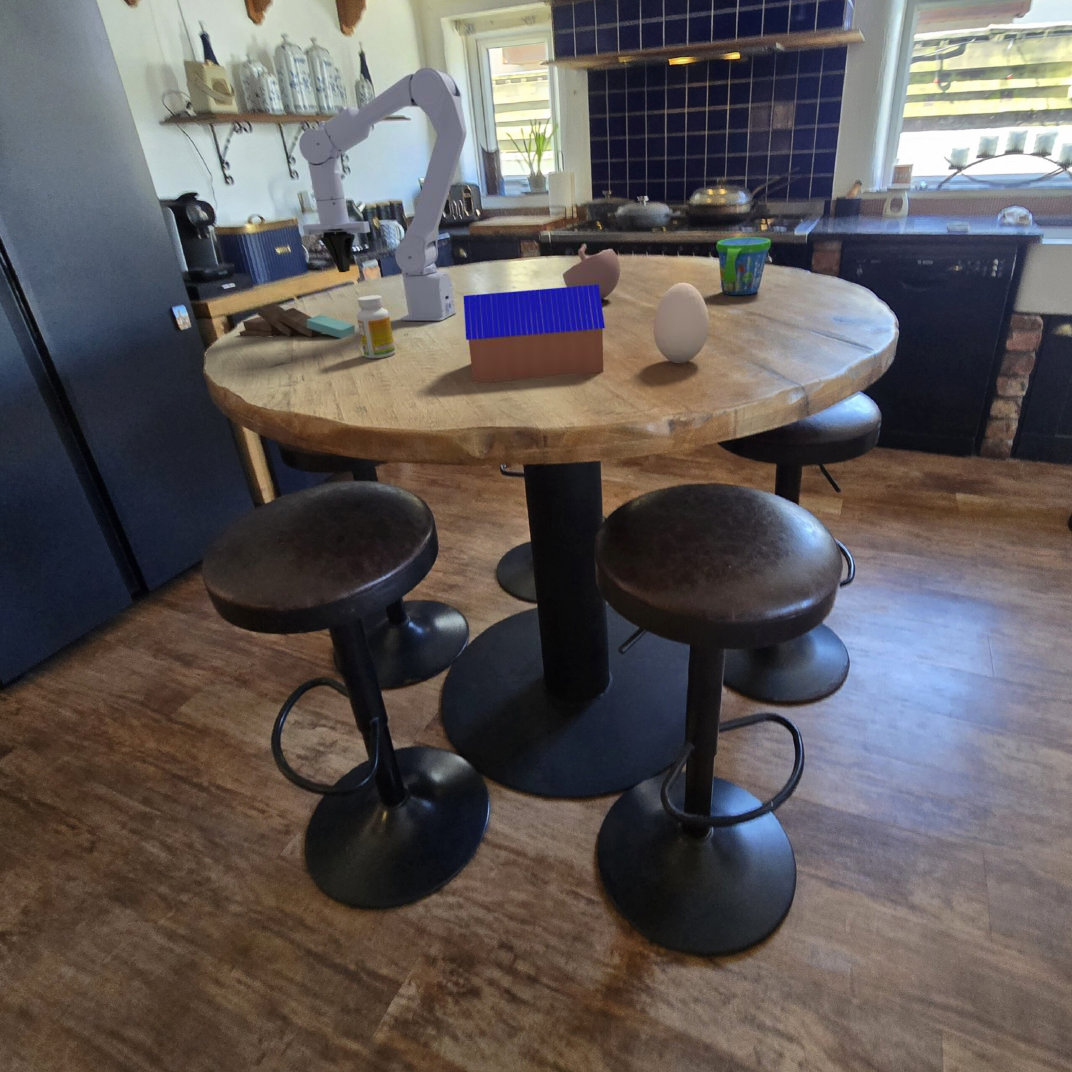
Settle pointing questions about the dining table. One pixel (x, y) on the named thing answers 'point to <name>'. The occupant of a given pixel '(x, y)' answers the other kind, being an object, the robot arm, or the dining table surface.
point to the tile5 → (259, 333)
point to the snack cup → (742, 264)
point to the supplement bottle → (375, 328)
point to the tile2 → (297, 321)
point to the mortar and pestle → (595, 271)
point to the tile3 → (275, 318)
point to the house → (535, 333)
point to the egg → (681, 323)
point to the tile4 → (258, 324)
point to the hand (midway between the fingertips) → (344, 271)
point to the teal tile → (330, 326)
